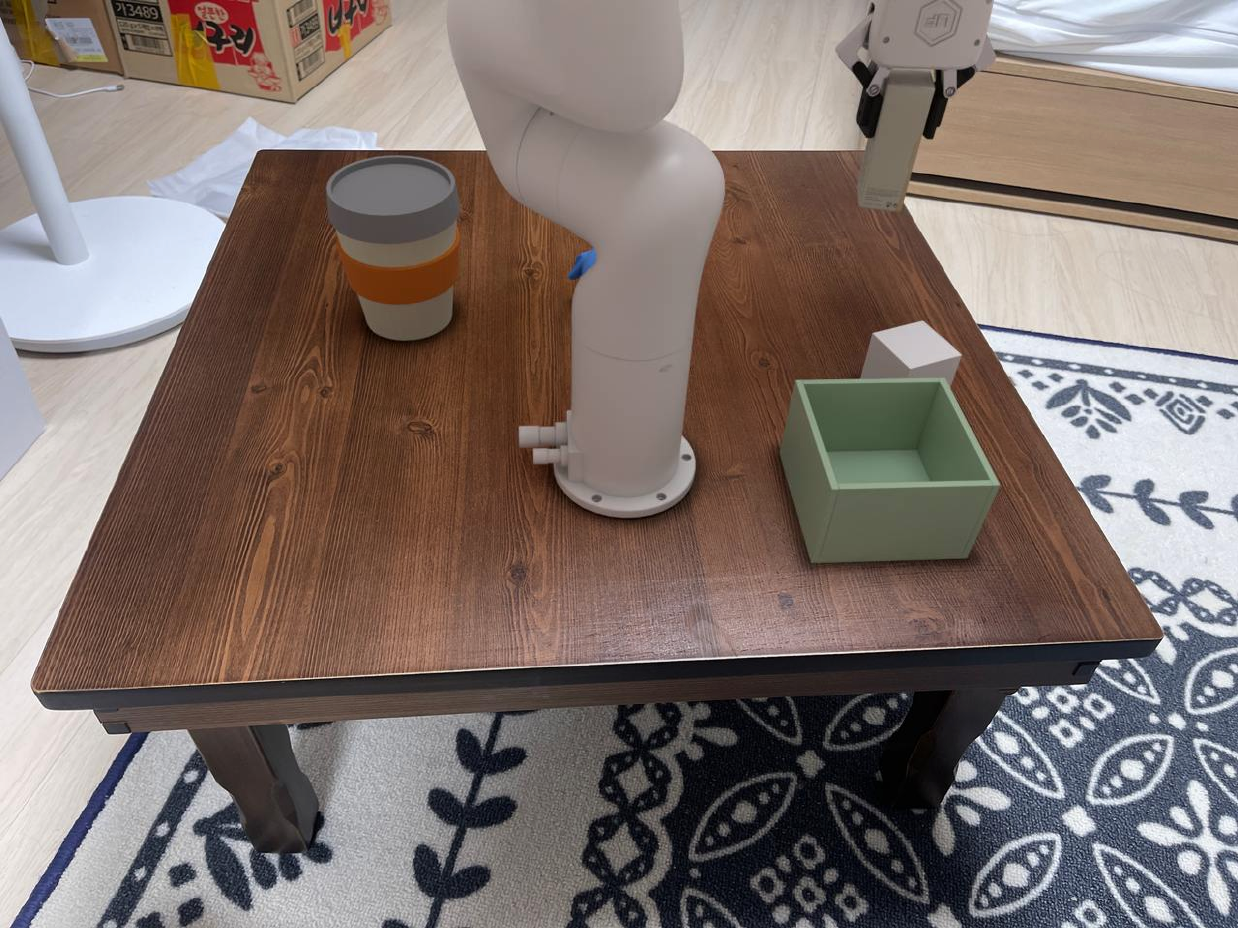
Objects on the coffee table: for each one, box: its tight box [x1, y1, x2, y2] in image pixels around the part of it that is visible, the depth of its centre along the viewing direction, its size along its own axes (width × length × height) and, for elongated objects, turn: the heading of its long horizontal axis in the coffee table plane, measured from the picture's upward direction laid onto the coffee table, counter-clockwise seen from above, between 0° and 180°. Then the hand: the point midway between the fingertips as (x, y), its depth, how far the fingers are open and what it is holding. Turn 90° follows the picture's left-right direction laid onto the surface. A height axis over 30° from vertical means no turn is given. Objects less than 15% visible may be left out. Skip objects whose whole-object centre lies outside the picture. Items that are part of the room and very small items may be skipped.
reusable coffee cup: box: [325, 154, 461, 342], centre depth 94 cm, size 13×13×15 cm
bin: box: [779, 378, 1001, 564], centre depth 78 cm, size 13×13×9 cm
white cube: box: [859, 320, 963, 388], centre depth 91 cm, size 6×6×6 cm
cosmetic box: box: [856, 68, 935, 213], centre depth 90 cm, size 6×4×12 cm
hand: (895, 131), depth 90 cm, fingers closed on cosmetic box, 5 cm apart
